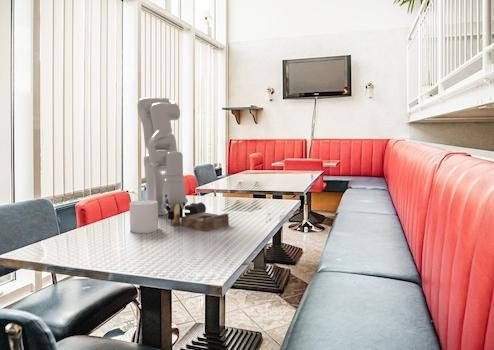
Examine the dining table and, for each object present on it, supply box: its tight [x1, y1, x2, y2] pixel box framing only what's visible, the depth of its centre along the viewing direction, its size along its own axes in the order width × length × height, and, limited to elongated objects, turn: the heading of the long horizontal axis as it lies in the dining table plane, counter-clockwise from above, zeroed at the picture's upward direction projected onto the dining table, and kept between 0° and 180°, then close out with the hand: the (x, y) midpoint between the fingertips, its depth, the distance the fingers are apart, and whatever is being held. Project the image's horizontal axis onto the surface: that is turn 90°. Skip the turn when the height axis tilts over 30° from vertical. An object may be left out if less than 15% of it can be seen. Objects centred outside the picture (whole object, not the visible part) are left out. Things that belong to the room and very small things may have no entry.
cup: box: [129, 199, 159, 234], centre depth 165 cm, size 12×12×12 cm
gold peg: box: [170, 203, 181, 226], centre depth 175 cm, size 4×4×10 cm
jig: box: [180, 211, 230, 232], centre depth 173 cm, size 16×14×5 cm
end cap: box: [184, 202, 207, 216], centre depth 191 cm, size 10×7×7 cm
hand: (175, 218), depth 175 cm, fingers open, 4 cm apart
